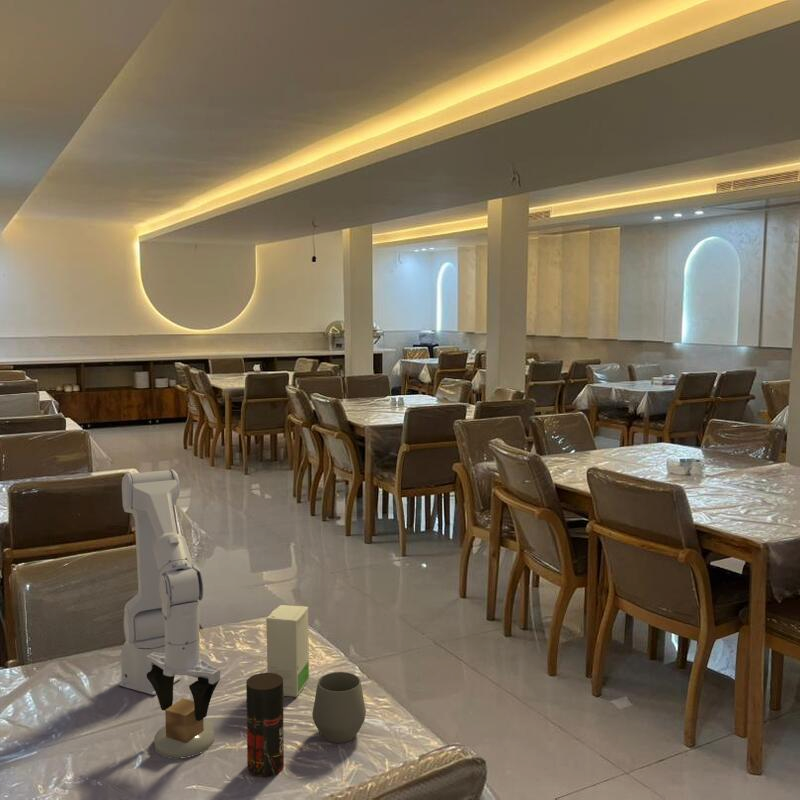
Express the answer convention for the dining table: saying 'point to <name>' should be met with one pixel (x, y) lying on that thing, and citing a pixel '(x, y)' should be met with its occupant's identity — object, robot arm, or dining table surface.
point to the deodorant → (265, 725)
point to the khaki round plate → (182, 749)
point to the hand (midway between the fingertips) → (183, 712)
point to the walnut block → (182, 721)
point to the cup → (339, 706)
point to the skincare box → (289, 647)
